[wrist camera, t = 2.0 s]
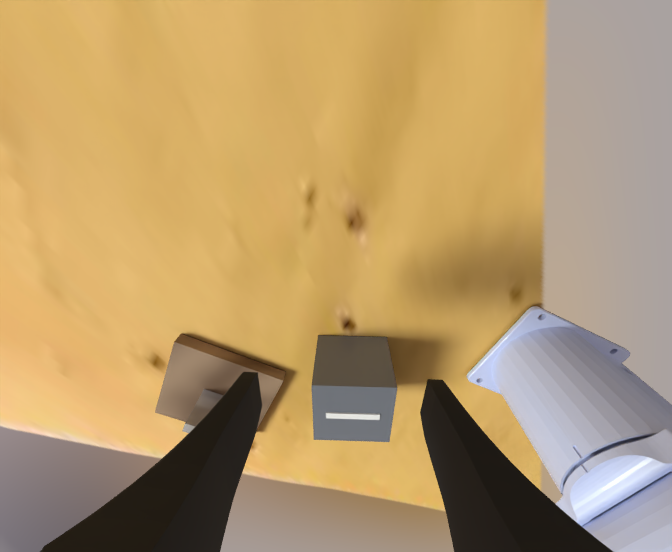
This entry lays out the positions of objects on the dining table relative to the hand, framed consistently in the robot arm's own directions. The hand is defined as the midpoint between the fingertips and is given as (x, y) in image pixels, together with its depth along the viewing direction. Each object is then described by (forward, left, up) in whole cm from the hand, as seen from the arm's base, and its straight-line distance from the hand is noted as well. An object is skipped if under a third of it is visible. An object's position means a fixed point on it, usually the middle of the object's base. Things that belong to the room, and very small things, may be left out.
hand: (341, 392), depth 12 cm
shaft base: (+5, +14, -9) cm, 18 cm away
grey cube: (-4, +6, -9) cm, 12 cm away
